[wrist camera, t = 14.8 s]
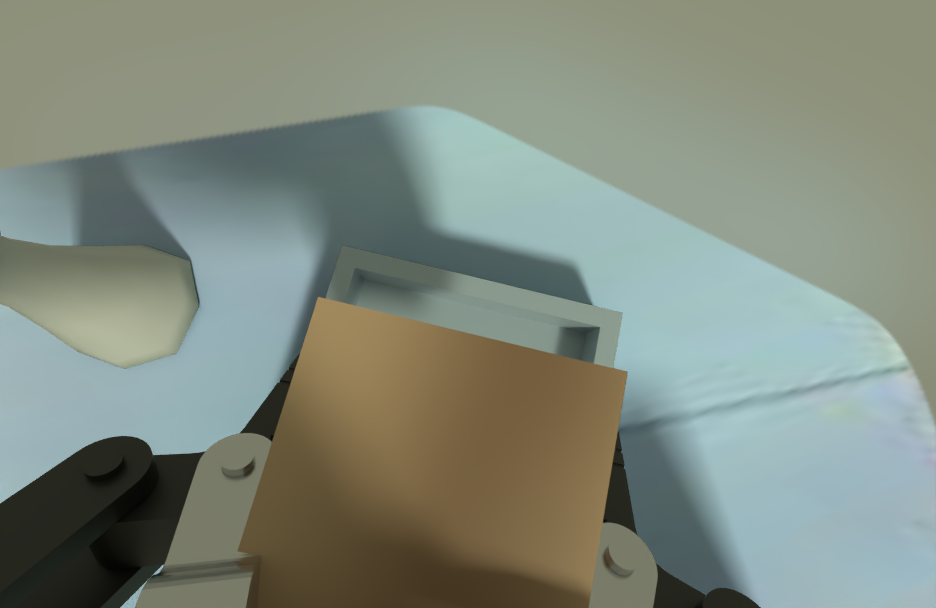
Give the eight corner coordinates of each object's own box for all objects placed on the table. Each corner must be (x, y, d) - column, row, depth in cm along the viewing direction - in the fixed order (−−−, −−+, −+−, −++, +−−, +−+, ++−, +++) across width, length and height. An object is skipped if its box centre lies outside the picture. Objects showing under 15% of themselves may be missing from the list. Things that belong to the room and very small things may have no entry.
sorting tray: (276, 526, 24) (246, 549, 20) (356, 263, 27) (342, 245, 23) (550, 596, 23) (567, 631, 20) (600, 323, 26) (622, 312, 23)
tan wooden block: (355, 496, 15) (207, 645, 6) (395, 351, 16) (317, 297, 7) (501, 533, 15) (566, 740, 6) (532, 384, 16) (627, 371, 7)
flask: (209, 248, 27) (66, 164, 17) (193, 370, 25) (26, 357, 15) (86, 245, 26) (-131, 159, 17) (63, 368, 25) (-190, 352, 15)
